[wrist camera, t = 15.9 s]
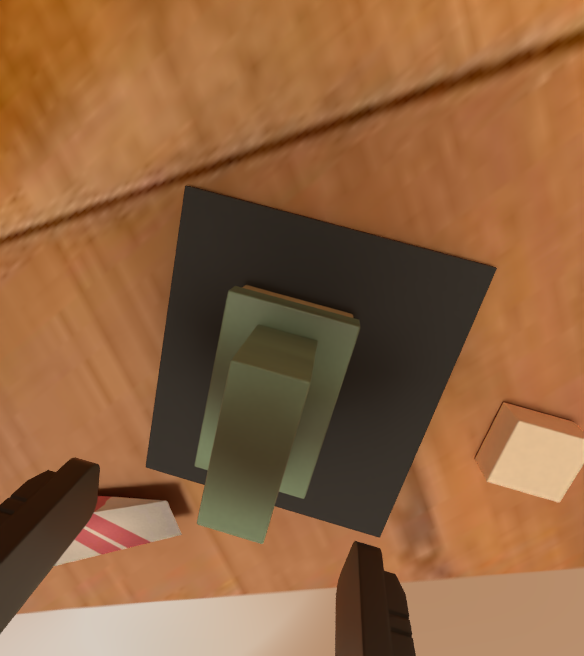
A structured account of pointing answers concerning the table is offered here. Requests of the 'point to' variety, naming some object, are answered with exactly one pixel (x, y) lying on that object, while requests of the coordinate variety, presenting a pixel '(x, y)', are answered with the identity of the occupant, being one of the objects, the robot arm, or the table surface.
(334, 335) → the green stepped block
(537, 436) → the beige square block
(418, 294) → the mat
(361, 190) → the table surface
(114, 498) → the paintbrush
